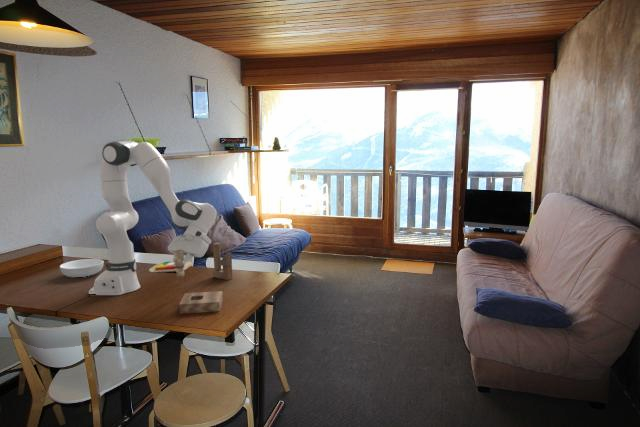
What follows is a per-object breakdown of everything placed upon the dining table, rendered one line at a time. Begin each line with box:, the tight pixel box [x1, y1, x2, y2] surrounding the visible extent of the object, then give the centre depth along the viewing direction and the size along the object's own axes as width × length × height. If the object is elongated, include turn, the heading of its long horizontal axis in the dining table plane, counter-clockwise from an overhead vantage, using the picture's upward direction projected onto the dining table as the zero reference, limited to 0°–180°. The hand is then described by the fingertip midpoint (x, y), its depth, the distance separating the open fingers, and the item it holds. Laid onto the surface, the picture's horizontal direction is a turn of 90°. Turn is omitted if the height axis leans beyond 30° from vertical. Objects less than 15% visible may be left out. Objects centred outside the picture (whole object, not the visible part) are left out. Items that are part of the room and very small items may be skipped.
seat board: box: [178, 290, 223, 315], centre depth 187 cm, size 16×14×4 cm
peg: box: [173, 250, 185, 278], centre depth 188 cm, size 4×4×11 cm
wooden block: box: [212, 242, 234, 281], centre depth 227 cm, size 4×11×18 cm, turn 57°
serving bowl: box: [59, 258, 105, 278], centre depth 237 cm, size 21×21×7 cm
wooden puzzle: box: [148, 260, 193, 273], centre depth 249 cm, size 18×19×4 cm
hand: (178, 262), depth 187 cm, fingers closed on peg, 4 cm apart
